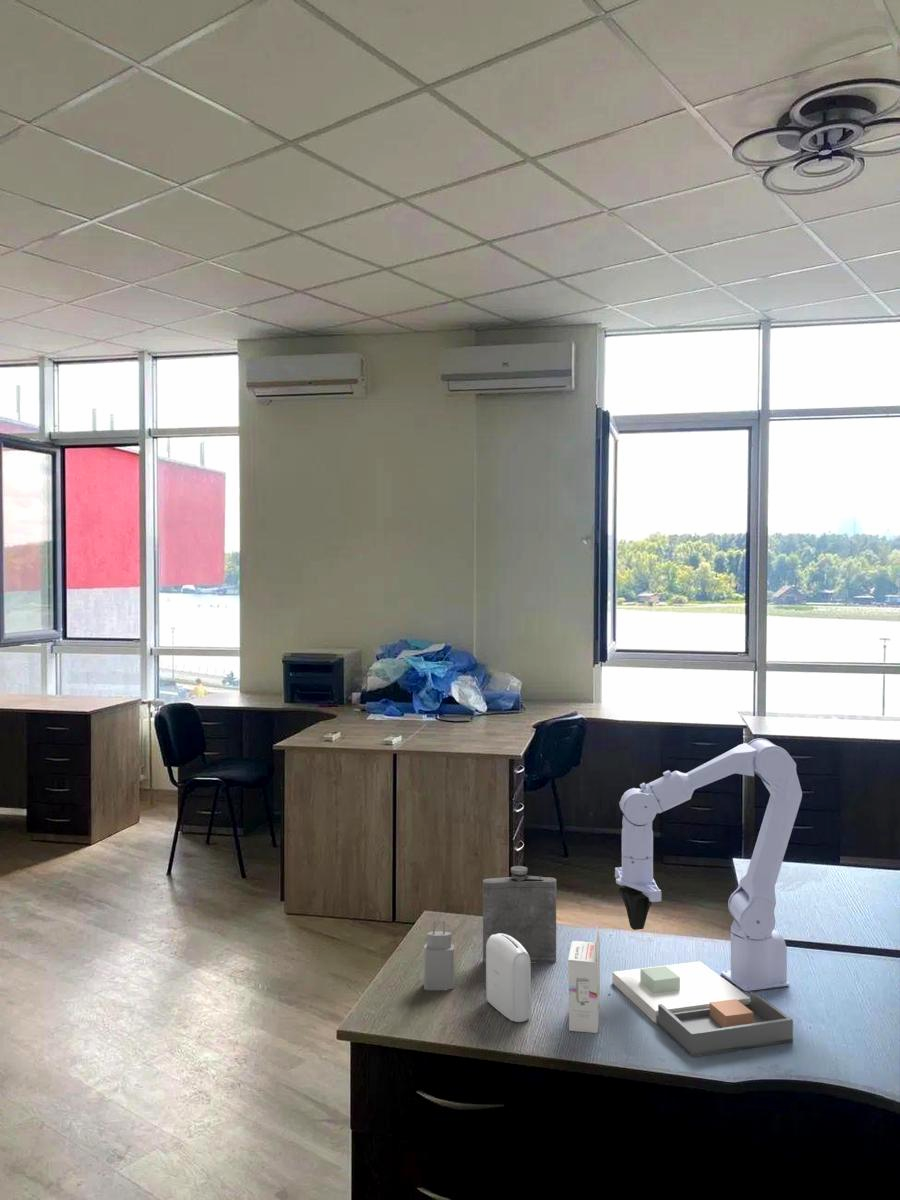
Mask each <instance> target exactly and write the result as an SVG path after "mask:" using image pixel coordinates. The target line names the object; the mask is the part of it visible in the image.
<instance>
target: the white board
mask: <svg viewBox="0 0 900 1200" xmlns="http://www.w3.org/2000/svg"><path fill="white" fill-rule="evenodd" d="M661 966H662V965H658V966H656V967H661ZM664 966H666V967H667V968H669V969H670V970H671V971H672V972H674V973H675V974H676V975H678V976H679V977H680V990H676V991H669V992H661V993H653V992H652V991H651V990H650V989H649V988H647V987H646V986H645V985H644V984H643V983H642V982H641V981H640V969H645V968H646V967H642V968H633V969H632V968H631V969H625V970H624V969H623V970H616V971H612V984H613V985H614V986H615V987H616V988H617V989H618V990H620V991H621V992H622V994H624V995H625V996H626V997H627V998H628V999H629V1000H630V1001H631V1002H632V1003H633V1004H634V1005H635V1006H636V1007H638V1008H639V1009H640V1010H641V1011H642V1012H643V1013H644V1014H645V1015H646V1016H647V1017H648V1018H649V1019H650V1020H652V1021H653V1022H654V1023H655V1024H656V1015H658V1004H662V1005H663V1006H664V1007H666V1008H667V1009H668V1010H669V1011H670V1012H671V1013H674V1012H681V1011H688V1010H696V1009H703V1008H709V1004H710V1002H717V1001H725V1000H733V999H737V1000H738V1001H739V1002H740V1003H746V1002H750V996H748V994H747V995H746V993H744V992H743V991H741V990H740V988H738V987H736V986H734V985H733V984H732V983H731V982H729V980H726V979H725V978H724V977H722V976H720V975H719V974H718V973H717V972H716V971H714V970H712V969H711V968H710V967H709V966H707V965H706V964H704V963H703V962H702V961H700V960H699V961H692V962H684V963H683V962H682V963H673V964H668V965H667V964H666V965H664ZM653 967H654V966H650V967H648V968H653Z"/></svg>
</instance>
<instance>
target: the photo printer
mask: <svg viewBox="0 0 900 1200" xmlns="http://www.w3.org/2000/svg"><path fill="white" fill-rule="evenodd" d="M531 964H532V963H530V957H529V955H528V953H527V951H526V950H525V948H524V947H523V946H522V945H521V944H520V943H519V942H518V941H517V940H515V939H514V938H513V937H511V936H509V935H506V934H502V933H498V934H494V935H491V936H490V937H489V939H488V941H487V944H486V965H485V982H486V983H485V988H486V989H485V991H486V992H485V993H486V994H485V995H486V1001H487V1002H488V1003H489V1004H490V1005H491V1006H492V1007H493V1008H494V1009H496V1010H497V1011H498V1012H499V1013H501V1015H503V1016H504V1017H505V1018H507V1019H508V1020H510V1021H511V1022H515V1023H522V1022H526V1021H528V1020H529V1018H530V1017H531V1014H532V1002H531V999H532V997H531V996H532V995H531V994H532V993H531V992H532V990H531V986H532V985H531V982H532V981H531V977H532V976H531V972H532V971H531V969H532V967H531Z"/></svg>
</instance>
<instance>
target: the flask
mask: <svg viewBox="0 0 900 1200" xmlns="http://www.w3.org/2000/svg"><path fill="white" fill-rule="evenodd" d="M510 872H511V877H509V876H508V877H506V876H505V877H495V878H494V877H493V878H485V879H483V880H482V963H483V962H484V963H485V964H486V944H487V941H488V939H489V937H490V936H491V935H494V934H498V933H502V934H506V935H509V936H511V937H513V938H514V939H515V940H517V941H518V942H519V943H520V944H521V945H522V946H523V947H524V948H525V950H526V951H527V953H528V955H529V957H530V962H536V963H535V964H547V963H549V964H548V965H551V964H552V965H553V964H555V963H556V962H557V879H556V878H554V877H548V876H547V877H545V876H544V877H543V876H537V875H527V874H528V867H527V866H522V865H514V866H512V867H510ZM484 963H483V964H484ZM485 964H484V965H485Z"/></svg>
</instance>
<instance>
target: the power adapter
mask: <svg viewBox="0 0 900 1200" xmlns="http://www.w3.org/2000/svg"><path fill="white" fill-rule="evenodd" d="M442 924H443V925H442V926H443V928H442V929H443V931H441V930H439V931H438V930H437V931H436V922H435V919H433V920H432V927H433V928H432V931H429V932H427V933H426V943H425V944H424V945H423V990H424V991H446V990H445V989H453V988H454V989H455V944H453V943H452V933H451V932H450V931H446V920H445V919H443V923H442ZM454 989H453V990H454Z"/></svg>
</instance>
